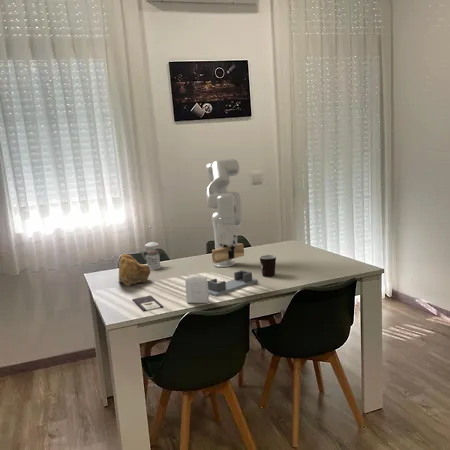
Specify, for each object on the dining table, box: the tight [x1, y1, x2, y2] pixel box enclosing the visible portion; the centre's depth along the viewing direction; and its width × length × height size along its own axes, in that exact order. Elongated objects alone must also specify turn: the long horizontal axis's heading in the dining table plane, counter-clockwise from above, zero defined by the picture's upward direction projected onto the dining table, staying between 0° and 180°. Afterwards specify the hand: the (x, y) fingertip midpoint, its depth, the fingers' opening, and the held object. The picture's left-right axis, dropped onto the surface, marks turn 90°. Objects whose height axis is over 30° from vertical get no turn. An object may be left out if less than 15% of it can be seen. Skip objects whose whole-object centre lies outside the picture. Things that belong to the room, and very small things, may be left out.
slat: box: [211, 242, 245, 264], centre depth 222 cm, size 3×18×6 cm, turn 133°
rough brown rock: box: [118, 253, 151, 287], centre depth 243 cm, size 23×17×15 cm
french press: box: [141, 225, 163, 271], centre depth 270 cm, size 10×12×25 cm
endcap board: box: [207, 269, 259, 297], centre depth 225 cm, size 10×28×5 cm, turn 133°
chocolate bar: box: [132, 295, 164, 312], centre depth 209 cm, size 9×1×18 cm
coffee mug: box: [259, 254, 277, 278], centre depth 241 cm, size 12×9×10 cm
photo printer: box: [184, 274, 210, 304], centre depth 206 cm, size 10×4×12 cm, turn 81°
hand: (228, 257), depth 223 cm, fingers closed on slat, 3 cm apart
